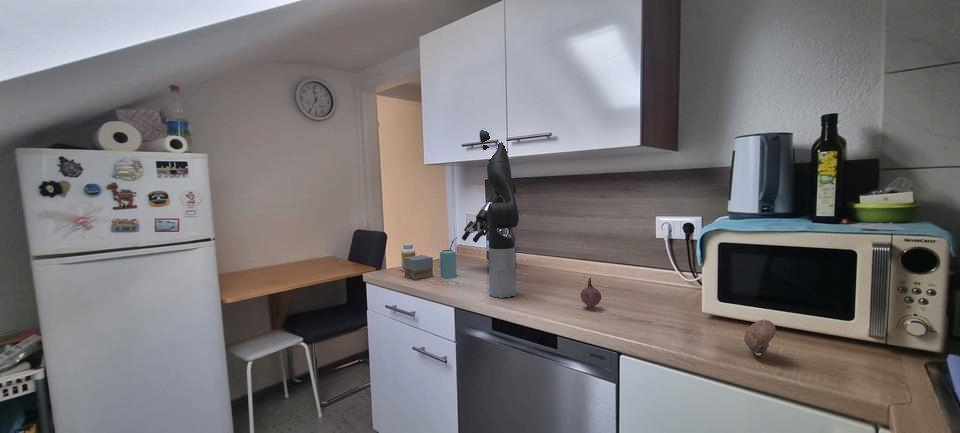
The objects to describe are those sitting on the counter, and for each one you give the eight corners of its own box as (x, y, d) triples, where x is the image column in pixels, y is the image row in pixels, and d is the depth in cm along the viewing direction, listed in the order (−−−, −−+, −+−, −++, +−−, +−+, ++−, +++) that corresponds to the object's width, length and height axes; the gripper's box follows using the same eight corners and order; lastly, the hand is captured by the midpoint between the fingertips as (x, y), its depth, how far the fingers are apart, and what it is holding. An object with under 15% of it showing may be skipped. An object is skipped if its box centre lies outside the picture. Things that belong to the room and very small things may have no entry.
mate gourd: (438, 265, 184) (437, 236, 182) (453, 264, 187) (452, 235, 186) (443, 268, 177) (442, 238, 176) (458, 266, 180) (457, 236, 179)
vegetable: (576, 306, 116) (576, 275, 115) (592, 304, 118) (592, 273, 118) (588, 312, 111) (588, 280, 110) (605, 309, 113) (605, 278, 112)
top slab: (432, 267, 160) (432, 257, 159) (415, 270, 154) (414, 260, 154) (421, 264, 167) (421, 255, 166) (404, 267, 161) (404, 257, 160)
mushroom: (768, 366, 76) (770, 329, 75) (735, 355, 81) (736, 320, 80) (781, 356, 80) (783, 320, 79) (748, 346, 85) (750, 313, 84)
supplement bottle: (417, 271, 172) (416, 244, 171) (403, 272, 170) (402, 245, 169) (414, 268, 178) (413, 242, 177) (400, 269, 176) (399, 243, 175)
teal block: (456, 276, 159) (455, 252, 159) (446, 278, 156) (446, 253, 156) (450, 274, 163) (449, 250, 163) (440, 276, 160) (439, 252, 159)
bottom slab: (432, 277, 160) (432, 267, 160) (414, 281, 154) (414, 270, 154) (422, 274, 167) (422, 264, 167) (404, 277, 161) (404, 267, 161)
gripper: (473, 208, 176) (454, 233, 170) (492, 209, 165) (473, 236, 158) (482, 218, 179) (464, 243, 173) (501, 219, 168) (482, 247, 162)
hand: (468, 240), depth 166 cm, fingers open, 8 cm apart
